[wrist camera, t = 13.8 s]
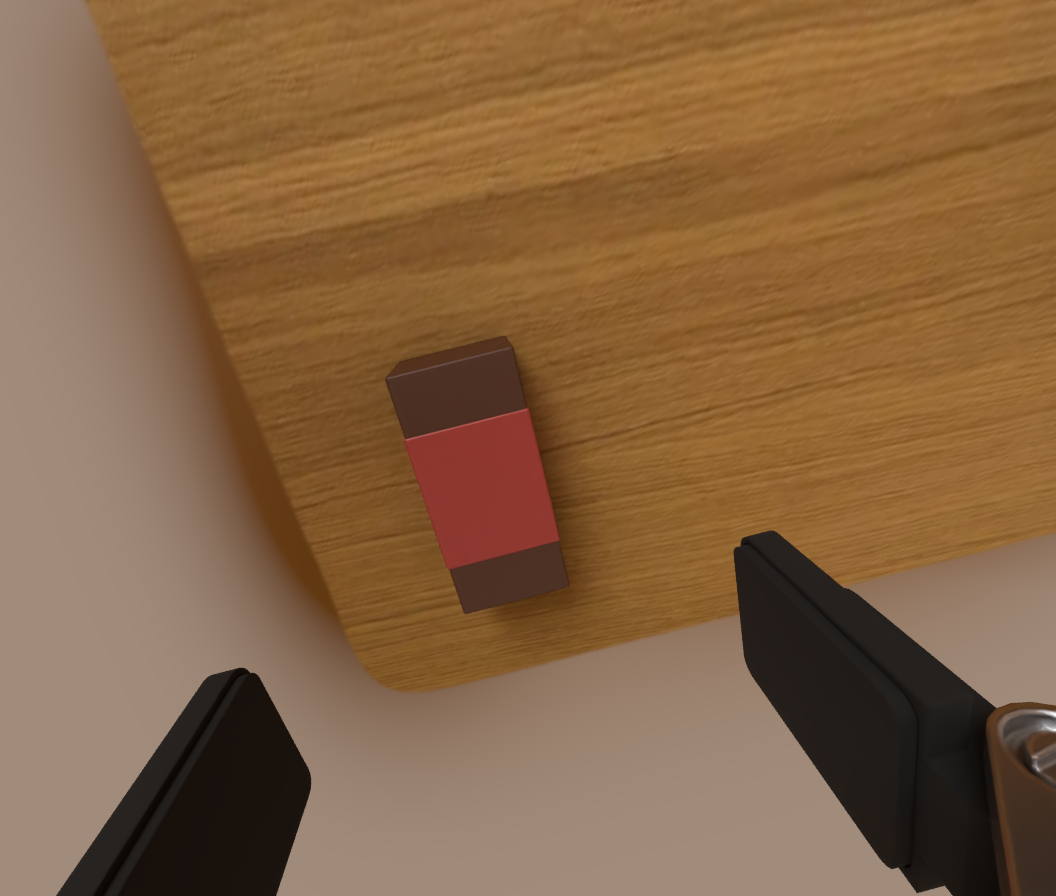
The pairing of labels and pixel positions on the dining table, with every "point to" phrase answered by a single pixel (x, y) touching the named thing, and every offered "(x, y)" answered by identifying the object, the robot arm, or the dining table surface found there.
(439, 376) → the chocolate bar
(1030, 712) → the robot arm
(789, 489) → the dining table surface
